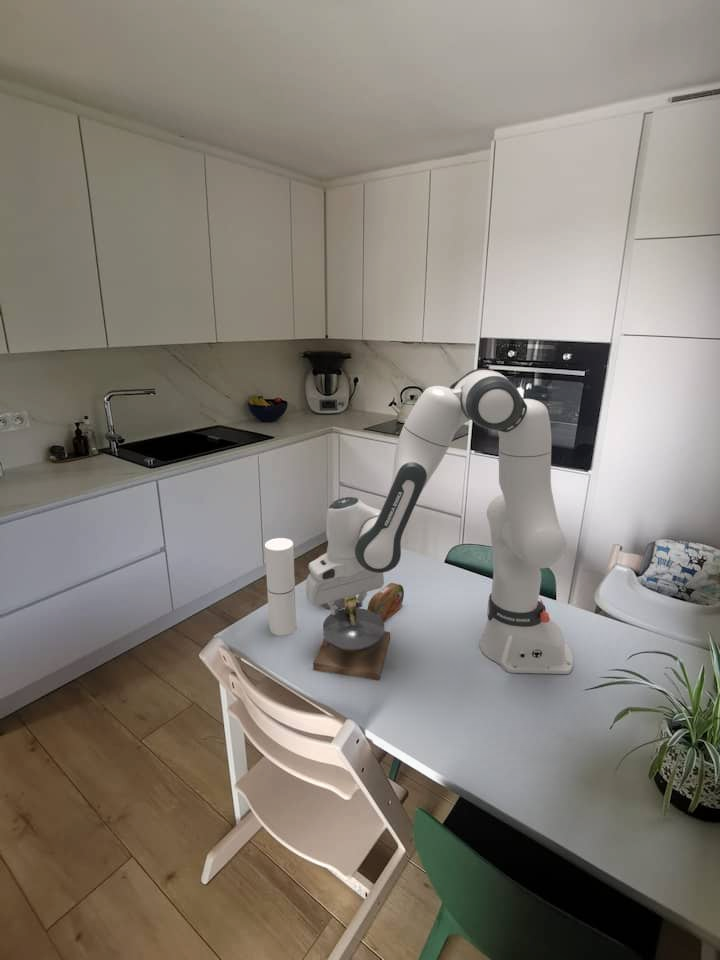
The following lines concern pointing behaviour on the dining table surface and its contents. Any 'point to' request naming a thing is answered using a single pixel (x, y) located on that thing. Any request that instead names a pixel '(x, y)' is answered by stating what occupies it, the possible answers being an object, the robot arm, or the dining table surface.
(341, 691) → the dining table surface
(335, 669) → the brown square flat block
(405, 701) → the dining table surface
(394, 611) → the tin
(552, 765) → the dining table surface
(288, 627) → the cylindrical container
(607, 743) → the dining table surface
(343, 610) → the dark grey round piece
